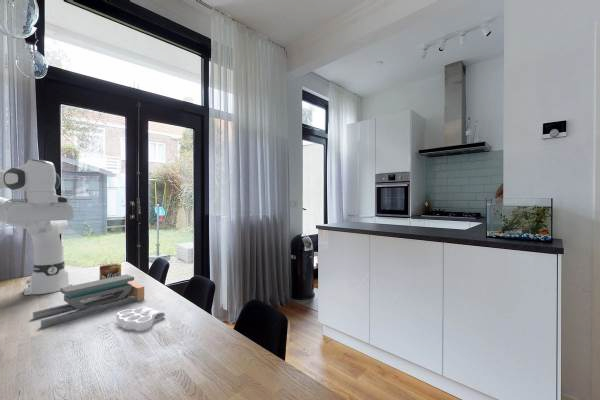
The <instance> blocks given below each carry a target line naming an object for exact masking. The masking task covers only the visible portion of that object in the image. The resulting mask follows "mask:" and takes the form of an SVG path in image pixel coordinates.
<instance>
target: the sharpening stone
mask: <svg viewBox="0 0 600 400" xmlns="http://www.w3.org/2000/svg"><path fill="white" fill-rule="evenodd" d="M130 281H132V282H134V281H135V276H133V275H130V274H123V275H122V274H121V276H117V277H112V278H107V279H102V280H98V279H97V280H94V281H87V282H84V283H79V284H72V286H68V287H63V288H60V291H59V292H60V293H62V294H63V301H64V302H65V303H66V304H70V305H71V306H73V307H75V308H76V309H78V310H82V309H86V308H89V307H93V306H97V305H101V304H104V303H108V302H112V301H115V300H119V299H123V298H126V297H127V296H126V295H127V294H128V293H129V292H130V290H131V289H132V285H131V284H129V283H128V282H130ZM110 293H112V294H111V295H108V296H104V297H100V298H96V299H92V300H88V301H84V302H80V301H82V300H86V299H90V298H94V297H98V296H102V295H106V294H110Z"/></svg>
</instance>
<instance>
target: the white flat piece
mask: <svg viewBox="0 0 600 400" xmlns="http://www.w3.org/2000/svg"><path fill="white" fill-rule="evenodd" d="M115 315H116V317H115V319H116V320H115V321H116V322H115V323H114V325H118V326H119V327H121V328H122V329H124V330H135V331H138V332H140V331H145V330H147V329H150V328H151V327H152V326H153V324H154V323H155V322H156V321H160V320H162V319H163V318H164V317H165V316H166V313H165V312H163V311H160V310H157V309H156V308H151V307H149V306H146V305H145V306H141V307H138V308H128V309H123V310H120V311H118V312H117V313H116V314H115Z"/></svg>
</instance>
